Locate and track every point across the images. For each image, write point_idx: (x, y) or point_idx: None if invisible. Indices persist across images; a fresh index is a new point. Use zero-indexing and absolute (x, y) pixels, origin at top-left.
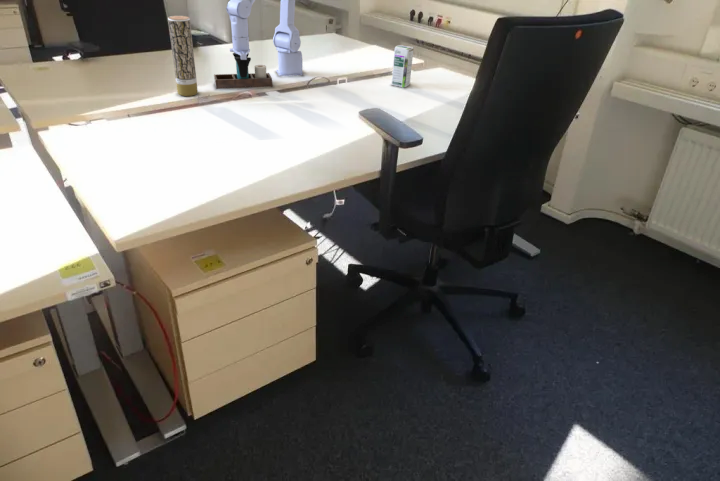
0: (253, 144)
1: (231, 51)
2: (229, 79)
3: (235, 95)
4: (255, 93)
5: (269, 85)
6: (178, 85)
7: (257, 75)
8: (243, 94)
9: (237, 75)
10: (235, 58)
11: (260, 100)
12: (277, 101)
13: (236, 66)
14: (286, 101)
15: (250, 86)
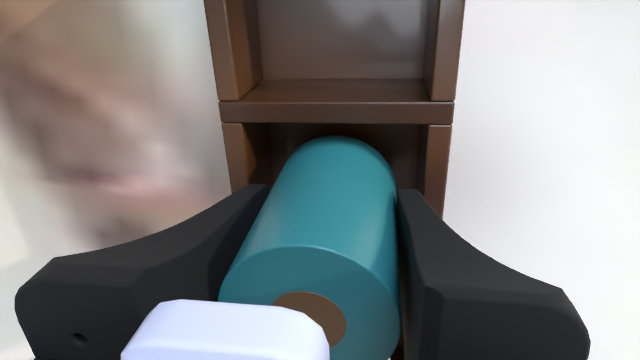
0: None
1: (145, 333)
2: (217, 50)
3: (80, 66)
4: (149, 218)
5: None
6: None
7: None
8: (115, 133)
9: (305, 158)
10: (25, 284)
11: (7, 222)
12: (14, 304)
13: (298, 206)
14: (26, 342)
15: None
